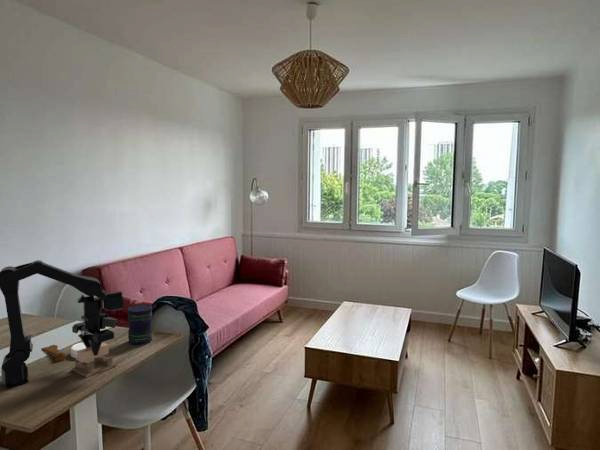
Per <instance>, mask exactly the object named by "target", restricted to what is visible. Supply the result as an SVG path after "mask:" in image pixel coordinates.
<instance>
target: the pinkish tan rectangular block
mask: <svg viewBox="0 0 600 450" xmlns="http://www.w3.org/2000/svg"><path fill="white" fill-rule="evenodd" d="M109 353H110V351H109V343H106V342H102V343H101V346H100V349H99V352H98V355H96V356H94V354H93V352H92V349H91V347H89V348H85V349H82V350H79V351H77V355H78V358H77V359H78V361H80V362H89V361H91V360H94V358H97V357H100V356H105V355H106V356H107V355H109Z"/></svg>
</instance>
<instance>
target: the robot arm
mask: <svg viewBox="0 0 600 450" xmlns="http://www.w3.org/2000/svg"><path fill="white" fill-rule="evenodd" d="M33 275H40V276H43V277H46V278H48V279H50V280H51V279H52V280H54V281H57V282H60V283H63V284H64V285H65V284H66V285H69V286H71V287H73V288H75V289H76V290H78V291H79V292H81V293H82V294H80V297H79V298H77V303H78V304H81V303H82V304H83V315H81V316H80V317H81V318H80V319H81V320H83V322H82V321H81V322H77V323H74V324H73V326H71V328H72V329H71V331H72V333H74V334H78V333H79V334H78V337H79V339H80V340H81V341H82V342H83V343H84V345H85V347H86V348H89V347H91V349H92V352H93V354H94V356H96V355H98V352H99V349H100V346H101V344H102V343H105V342H107V341H110V340H113V339H114V338H115V332H114V331H112V330H110V329H109V328H112V329H115V328H116V326H117V321H118V319H117V318H113V317H109V314H107V313H102V309H103V310H106V312H111V311H121V310H123V309H124V300H123V292H122V291H121V290H120V291H119V290H118V291H115V292H106V291H105V289H103V288H102V286H101V285H102V284H101V283H100V280H99V279H98V278H96V277H92V276H86V275H80V274H79V275H78V274H75V273H72V272H69V271H67V270H64V269H62V268H58V267H57V266H53V265H52V264H49V263H45V262H43V261H42V260H39V259H36V260H34V261H31V262H28V263H24V264H20V265H17V266H12V265H11V266H5V267H3V268H2V269H1V270H0V292H1V293H2V295H3V297H4V301H5V308H6V314H7V321H8V322H7V323H8V327H9V328H8V329H9V334H10V341H9V352H8V353H7V354H5V356H4V357H3V361H2V364H1V370H0V371H1V381H0V385H1V386H2V387H4V388H5V389H7V390H8V389H12V388H15V387H18V386H21V385H24V384H27V383H29V382H30V380H29V367H28V366H27V363H26V361H27V360H28V359H29V358H30V355H31V352H33V348H34V344H33V342H32V334H29V335H27V334H26V332H25V328H24V320H23V315H22V310H21V303H20V302H21V301H20V296H19V289H20V281H22V280H25V279H27V278H30V277H32V276H33Z"/></svg>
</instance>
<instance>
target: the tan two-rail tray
mask: <svg viewBox="0 0 600 450" xmlns="http://www.w3.org/2000/svg"><path fill="white" fill-rule="evenodd" d="M74 359H75V360H74V363H75V364H74V366H73V367H71V370H72V371H73V372H75V373H77V374H79V375H81V376H83V377H84V378H89V377H91V376H94V375H96V374H99V373H102V372H104V371H108V370H110V369H113V368H116V367H117V365H116V363H113V357H112V356H109V357H107V356H105V355H103V356H100V357H97V358H94V359H92V361H91V360H89V361H85V362H80V361H78V358H74Z"/></svg>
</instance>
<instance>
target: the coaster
mask: <svg viewBox="0 0 600 450" xmlns="http://www.w3.org/2000/svg"><path fill="white" fill-rule="evenodd" d="M85 348H86V347H85V345H84V343H83V342H78V343H76V344H73V345H72V346H71V347H70V356H71V357H72V358H73V359H78V355H77V351H79V350H82V349H85Z"/></svg>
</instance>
